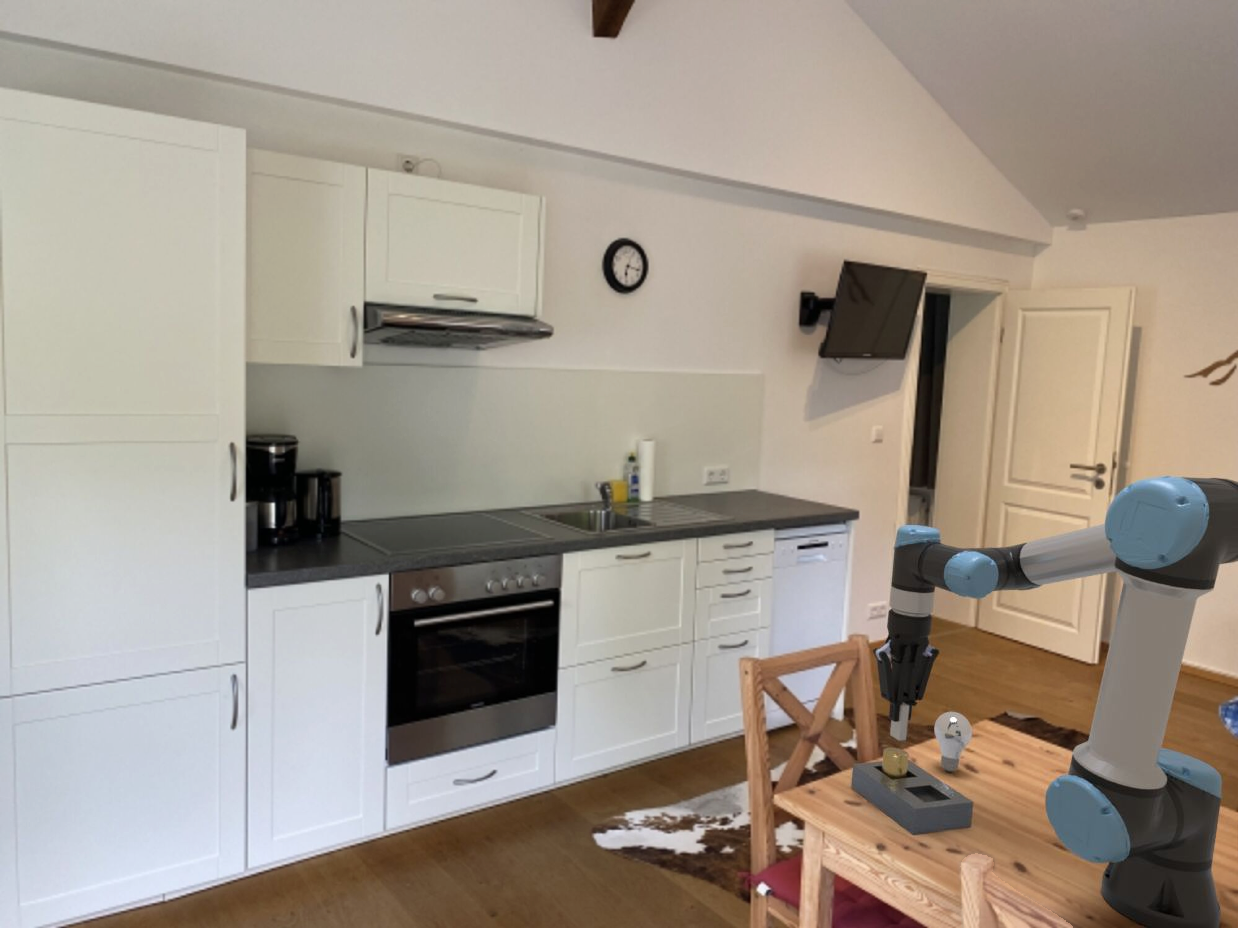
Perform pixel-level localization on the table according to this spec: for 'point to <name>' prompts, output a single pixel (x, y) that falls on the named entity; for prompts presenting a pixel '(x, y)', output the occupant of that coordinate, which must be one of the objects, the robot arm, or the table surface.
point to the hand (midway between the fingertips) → (897, 737)
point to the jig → (913, 798)
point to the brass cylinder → (895, 763)
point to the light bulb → (952, 738)
